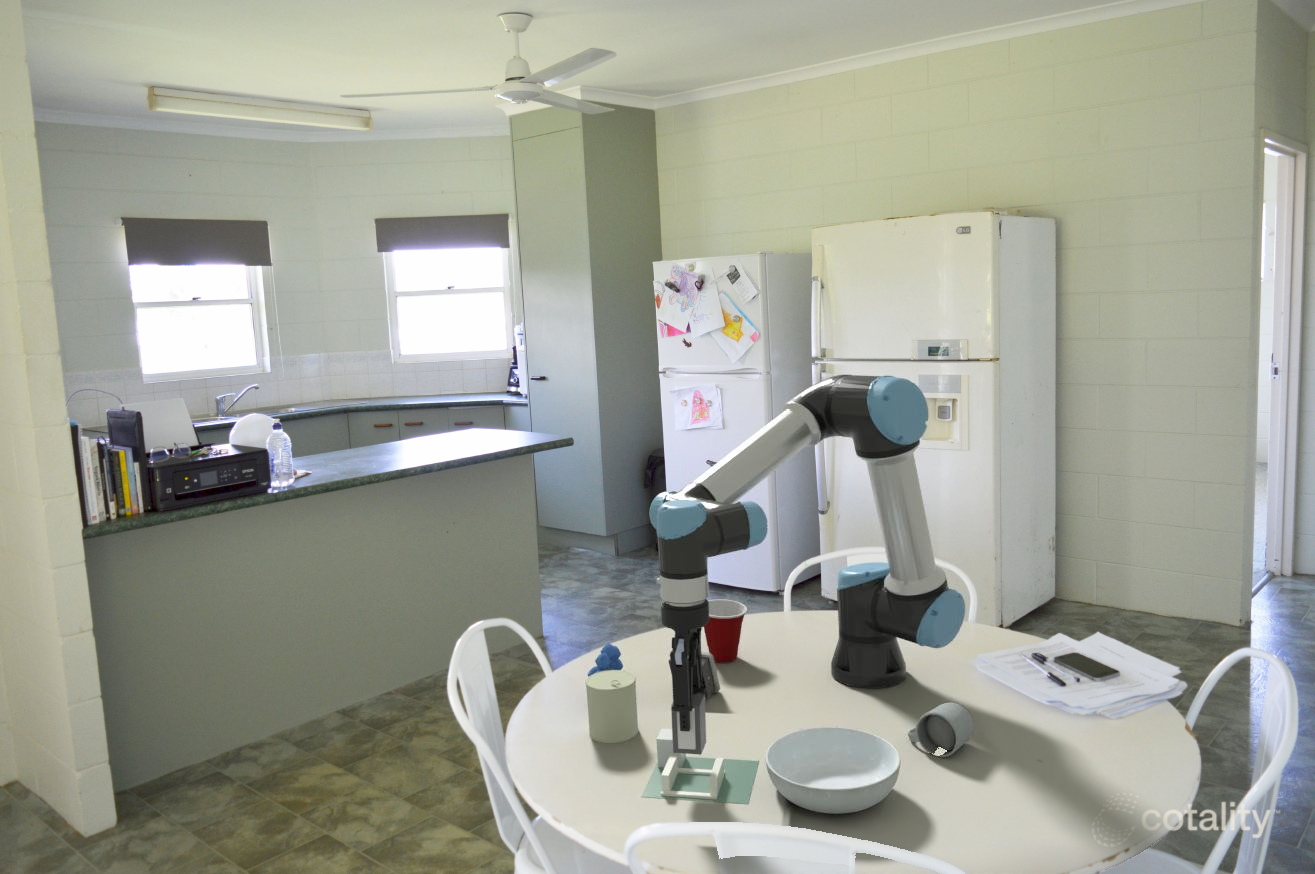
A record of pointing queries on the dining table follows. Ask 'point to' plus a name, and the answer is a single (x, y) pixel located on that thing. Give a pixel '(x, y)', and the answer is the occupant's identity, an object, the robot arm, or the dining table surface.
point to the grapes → (607, 660)
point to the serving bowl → (833, 768)
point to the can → (612, 706)
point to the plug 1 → (667, 749)
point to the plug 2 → (699, 727)
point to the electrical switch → (707, 674)
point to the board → (703, 780)
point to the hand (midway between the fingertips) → (690, 740)
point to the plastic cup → (724, 629)
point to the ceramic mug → (943, 728)
